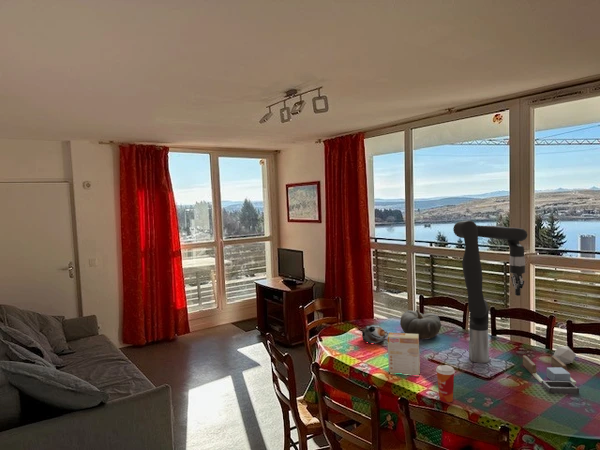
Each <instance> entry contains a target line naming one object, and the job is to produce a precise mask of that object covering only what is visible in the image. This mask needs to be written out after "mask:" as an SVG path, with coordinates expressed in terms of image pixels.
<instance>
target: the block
mask: <svg viewBox="0 0 600 450" xmlns="http://www.w3.org/2000/svg"><path fill="white" fill-rule="evenodd" d="M545 369H546V371H545V372H546V377H547V378H548V379H549V381H570V377H571V373H570V372H569V371H568V370H567V369H566V370H565V369H563V368H562V367H553V366H552V367H546V368H545Z"/></svg>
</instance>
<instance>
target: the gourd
mask: <svg viewBox="0 0 600 450" xmlns="http://www.w3.org/2000/svg"><path fill="white" fill-rule="evenodd" d="M399 321H400V322H399V324H400V327H401V329H402V331H403V333H408V334H419V340H420V339H421V340H429V339H432V338H434V337H435V336H437V335H438V334H439V332H440V330H441V327H442V322H441V319H440V317H439V316H438V315H437V314H436V313H434V312H433V313H432V312H428V313H421V312H419V309H417V310H406V311H405V312H404V313H402V315H401V316H400V320H399Z"/></svg>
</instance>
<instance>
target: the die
mask: <svg viewBox="0 0 600 450" xmlns="http://www.w3.org/2000/svg"><path fill="white" fill-rule="evenodd" d="M552 356H555V357H556V358H558V359H559V360H560V361H561V362H563V363H564V364H565V365H568V364H569V365H571V364H570V363H572V364H573V362H574V360H575V358H576V356H577V354H576V353H575V352H574V351H573V350H572V349H571V348H570V347H569V346H568V345H566V346H565V345H564V346H556V349H555V352H554V354H553V355H552Z"/></svg>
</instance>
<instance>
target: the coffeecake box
mask: <svg viewBox="0 0 600 450" xmlns="http://www.w3.org/2000/svg"><path fill="white" fill-rule="evenodd" d="M387 357H388V361H387V362H388V373H389V372H390V373H402V374H411V375H419V374H420V372H421V369H420V368H421V365H420V361H421V360H420V338H419V334H408V333H404V332H403V333H402V332H391V331H390V332H388V335H387ZM419 376H420V375H419Z"/></svg>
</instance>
